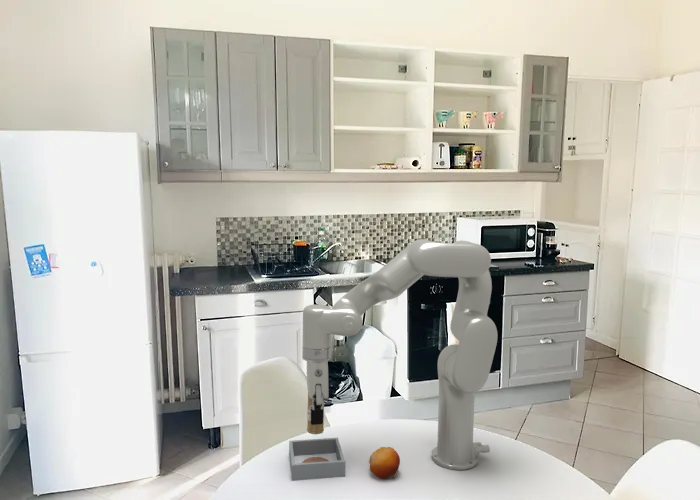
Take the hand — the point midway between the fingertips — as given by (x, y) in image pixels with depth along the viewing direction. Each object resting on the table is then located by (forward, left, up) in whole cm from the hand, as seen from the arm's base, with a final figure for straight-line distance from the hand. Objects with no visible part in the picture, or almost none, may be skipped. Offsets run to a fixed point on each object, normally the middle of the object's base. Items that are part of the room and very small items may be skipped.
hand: (315, 419), depth 138 cm
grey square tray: (0, 0, -13) cm, 13 cm away
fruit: (-17, +7, -13) cm, 23 cm away
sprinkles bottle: (0, 0, -4) cm, 4 cm away
